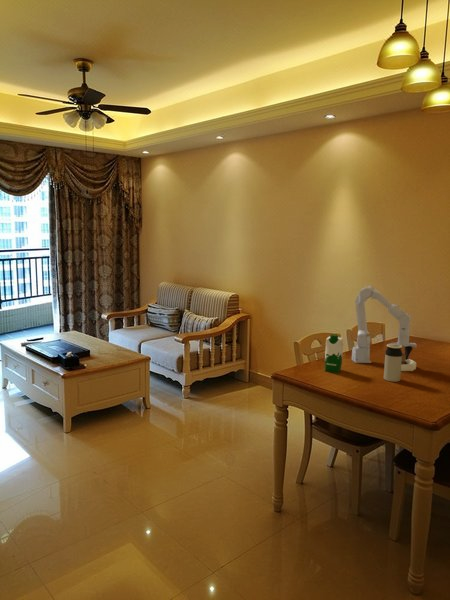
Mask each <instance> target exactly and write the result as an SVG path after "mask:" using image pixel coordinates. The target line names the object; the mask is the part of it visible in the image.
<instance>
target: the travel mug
mask: <svg viewBox="0 0 450 600" xmlns="http://www.w3.org/2000/svg"><path fill="white" fill-rule="evenodd" d="M402 348H403V347H402V346H401V345H397V344H390V343H388V344H386V349H385V353H384V355H385V356H384V367H383V368H384V369H383V370H384V371H383V379H384V380H385V381H387V382H391V383H393V382H394V383H397V382H400V381H401V374H402V371H401V362H402V353H403V352H402Z"/></svg>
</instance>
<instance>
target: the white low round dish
mask: <svg viewBox="0 0 450 600" xmlns="http://www.w3.org/2000/svg"><path fill="white" fill-rule="evenodd" d="M416 369H417V362H416V361H415V360H413V359H410V358H409V359H407V360H406V359H405V364H401V372H413V371H414V370H416Z"/></svg>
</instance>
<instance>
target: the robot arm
mask: <svg viewBox="0 0 450 600" xmlns="http://www.w3.org/2000/svg"><path fill="white" fill-rule="evenodd" d="M368 299H371V300H372V299H373V300H377V301H378V302H380V303H381V304H382V305H383V306H384V307H386V308H387V311H388V314H390V315H392V316H393V317H394V318H395V319H396V320H398V323H399V324H398V325H399V326H398V334H397V336H398V337H397V341H396V342H390V343H389V344H397V345H401V346H402V348H404V354H405V355H406V360H407V359H408V358H409V357H410V354H411V352H412V351H413V348H417V346H418V345H417V343H415V342H409V341H410V332H411V328H410V327H411V321H412V316H411V315H410V314H409V313H407V312H406V311H404V310H403V309H402V308H401V306H400V305H398V304H395V303H394V304H392V302H390V300H388V299H387V298H386V297H385V296H384V295H383V294H382V293H381V292H380V291H379V290H378V289H377V288H375V287H374V286H372V285H367V286H365V287H362V288H361V289H359V291H358V294H357V296H356V298H355V301H354V304H355V310H356V311H355V312H356V321H357V329H358V330H357V338H356V346H353V347H352V351H351V361H352V362H354V363H356V364H371V363H372V362H373V361H371V360H370V351H371V345H370V343H371V341H372V338H371V336H370V333H369V330H368V325H367V315H366V314H367V313H366V307H365V306H366V305H365V304H366V303H365V302H367V301H368Z"/></svg>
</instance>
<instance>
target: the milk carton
mask: <svg viewBox="0 0 450 600" xmlns="http://www.w3.org/2000/svg"><path fill="white" fill-rule="evenodd" d="M343 349H344V337H340V336H339V335H338V334H330V335H329V336H328V337H326V339H325V351H324V352H325V353H324V354H325V355H324V372H328V373H334V374H339V373H340V372H341V370H342V365H343V353H344V352H343Z"/></svg>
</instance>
